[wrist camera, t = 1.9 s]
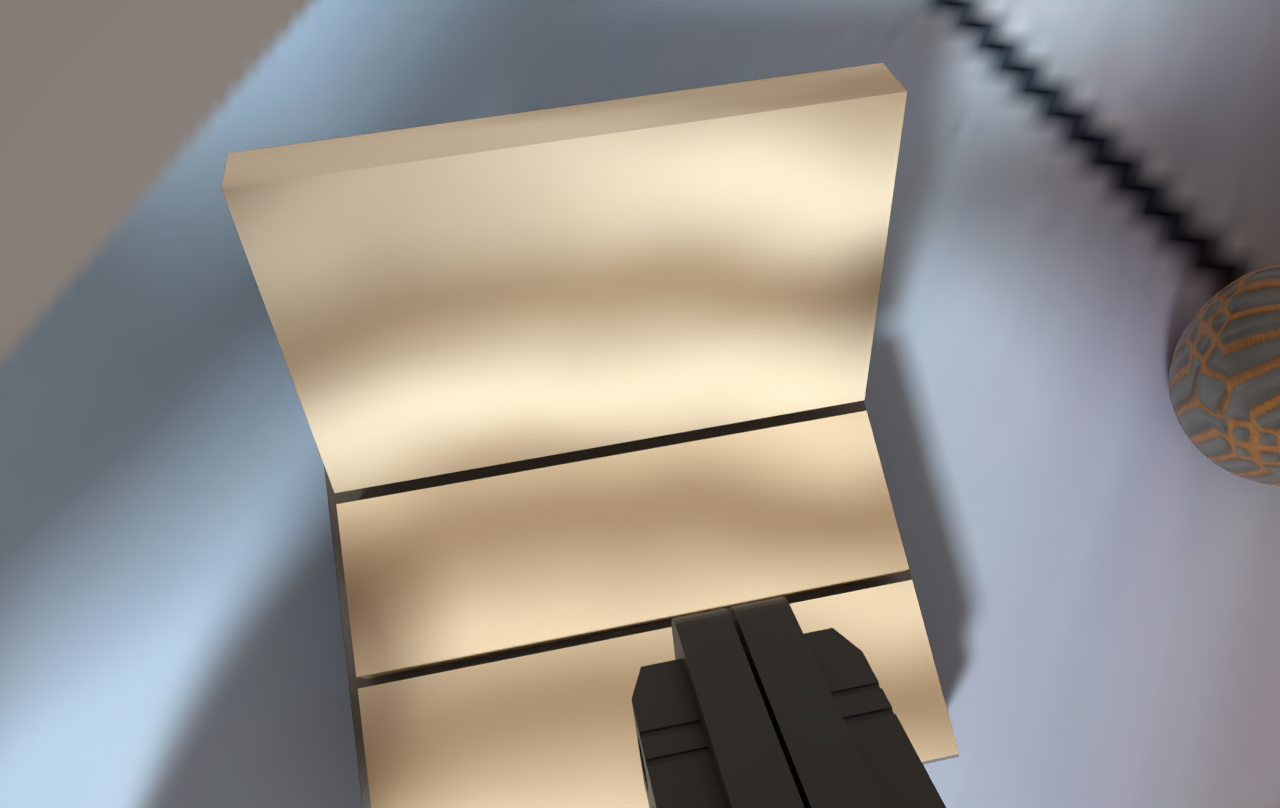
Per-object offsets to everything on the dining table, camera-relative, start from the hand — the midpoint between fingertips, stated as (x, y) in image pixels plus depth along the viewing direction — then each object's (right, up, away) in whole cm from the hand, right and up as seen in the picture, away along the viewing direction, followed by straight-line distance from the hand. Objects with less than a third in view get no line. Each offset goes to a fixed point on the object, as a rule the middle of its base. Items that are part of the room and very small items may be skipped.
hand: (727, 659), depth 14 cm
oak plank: (-3, +7, +13) cm, 15 cm away
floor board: (-2, +1, +20) cm, 20 cm away
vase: (+19, +3, +22) cm, 29 cm away
